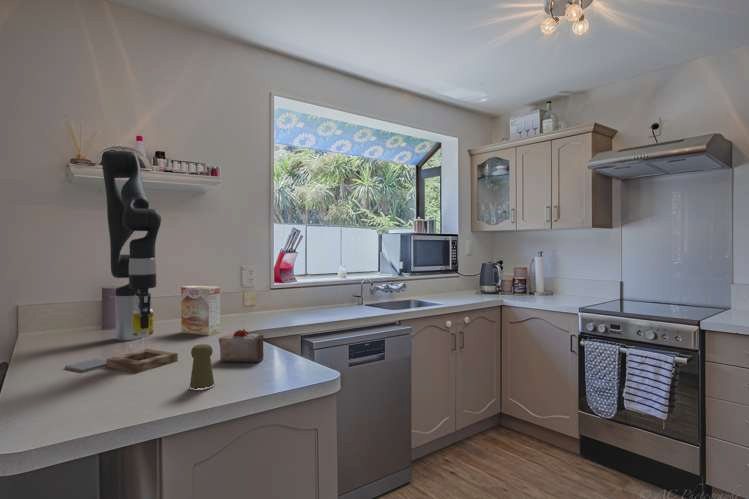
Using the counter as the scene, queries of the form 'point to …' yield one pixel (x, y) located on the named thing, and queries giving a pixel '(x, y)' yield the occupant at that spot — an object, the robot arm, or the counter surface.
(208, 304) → the coffeecake box
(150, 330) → the supplement bottle
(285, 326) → the counter surface
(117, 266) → the robot arm
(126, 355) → the board
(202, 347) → the cork
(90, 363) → the coaster
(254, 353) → the food item
